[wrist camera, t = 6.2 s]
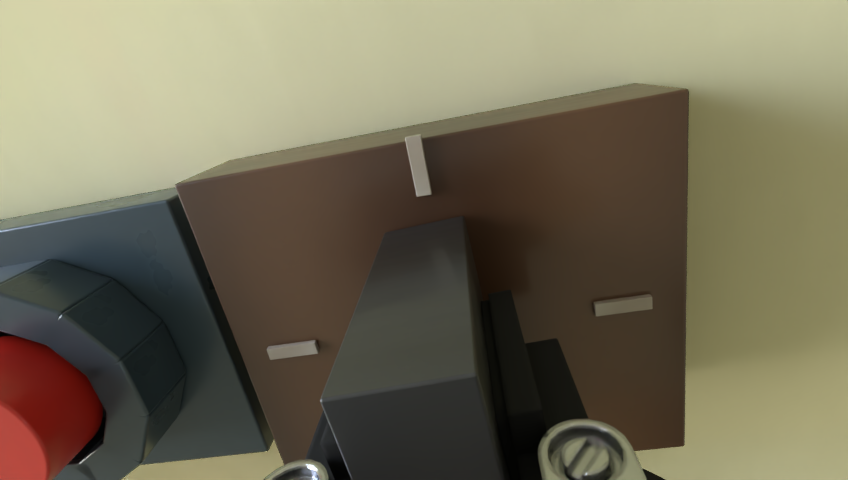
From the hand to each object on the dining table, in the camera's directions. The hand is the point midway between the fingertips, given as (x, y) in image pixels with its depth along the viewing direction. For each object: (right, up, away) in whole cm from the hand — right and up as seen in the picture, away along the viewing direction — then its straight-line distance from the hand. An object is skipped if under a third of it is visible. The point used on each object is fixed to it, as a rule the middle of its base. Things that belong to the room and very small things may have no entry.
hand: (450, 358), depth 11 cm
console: (0, +2, +4) cm, 4 cm away
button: (-12, -2, +2) cm, 12 cm away
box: (-12, 0, +6) cm, 13 cm away
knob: (0, 0, +1) cm, 1 cm away
